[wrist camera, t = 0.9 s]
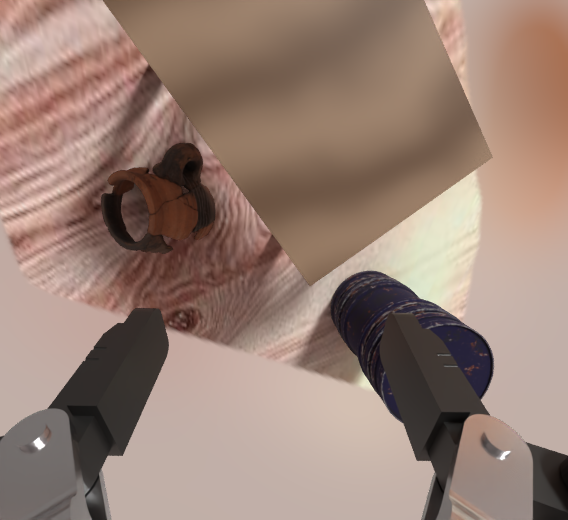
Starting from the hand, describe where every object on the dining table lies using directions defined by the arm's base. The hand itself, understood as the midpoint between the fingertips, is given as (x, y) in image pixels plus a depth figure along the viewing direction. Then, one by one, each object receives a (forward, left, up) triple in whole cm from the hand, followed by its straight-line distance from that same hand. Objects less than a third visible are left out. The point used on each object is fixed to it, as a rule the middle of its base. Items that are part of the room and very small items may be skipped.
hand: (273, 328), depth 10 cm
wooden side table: (-9, +9, -24) cm, 27 cm away
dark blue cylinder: (+16, +6, -24) cm, 30 cm away
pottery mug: (-8, -5, -24) cm, 26 cm away
